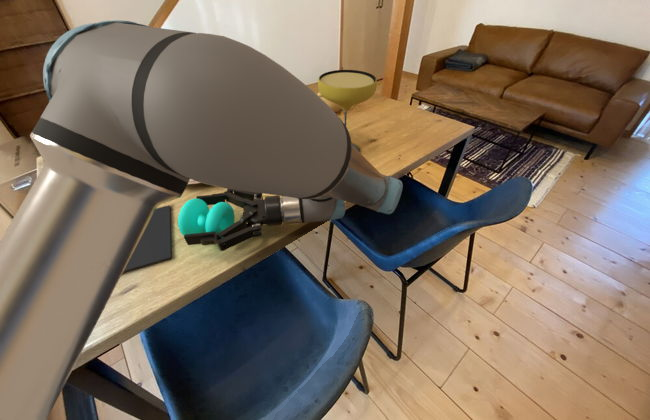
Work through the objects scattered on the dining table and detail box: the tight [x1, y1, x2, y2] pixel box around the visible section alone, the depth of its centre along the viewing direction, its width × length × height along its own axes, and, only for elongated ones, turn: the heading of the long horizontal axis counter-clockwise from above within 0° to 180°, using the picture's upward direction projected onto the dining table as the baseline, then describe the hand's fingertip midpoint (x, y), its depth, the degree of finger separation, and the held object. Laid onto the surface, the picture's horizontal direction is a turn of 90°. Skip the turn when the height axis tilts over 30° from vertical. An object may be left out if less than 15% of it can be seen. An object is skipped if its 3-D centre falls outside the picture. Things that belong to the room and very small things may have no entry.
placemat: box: [122, 205, 172, 274], centre depth 68 cm, size 20×20×1 cm
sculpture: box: [316, 91, 342, 113], centre depth 124 cm, size 12×12×11 cm
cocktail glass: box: [317, 69, 378, 153], centre depth 92 cm, size 18×18×25 cm
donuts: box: [177, 197, 236, 238], centre depth 67 cm, size 10×10×10 cm
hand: (192, 219), depth 66 cm, fingers open, 13 cm apart
